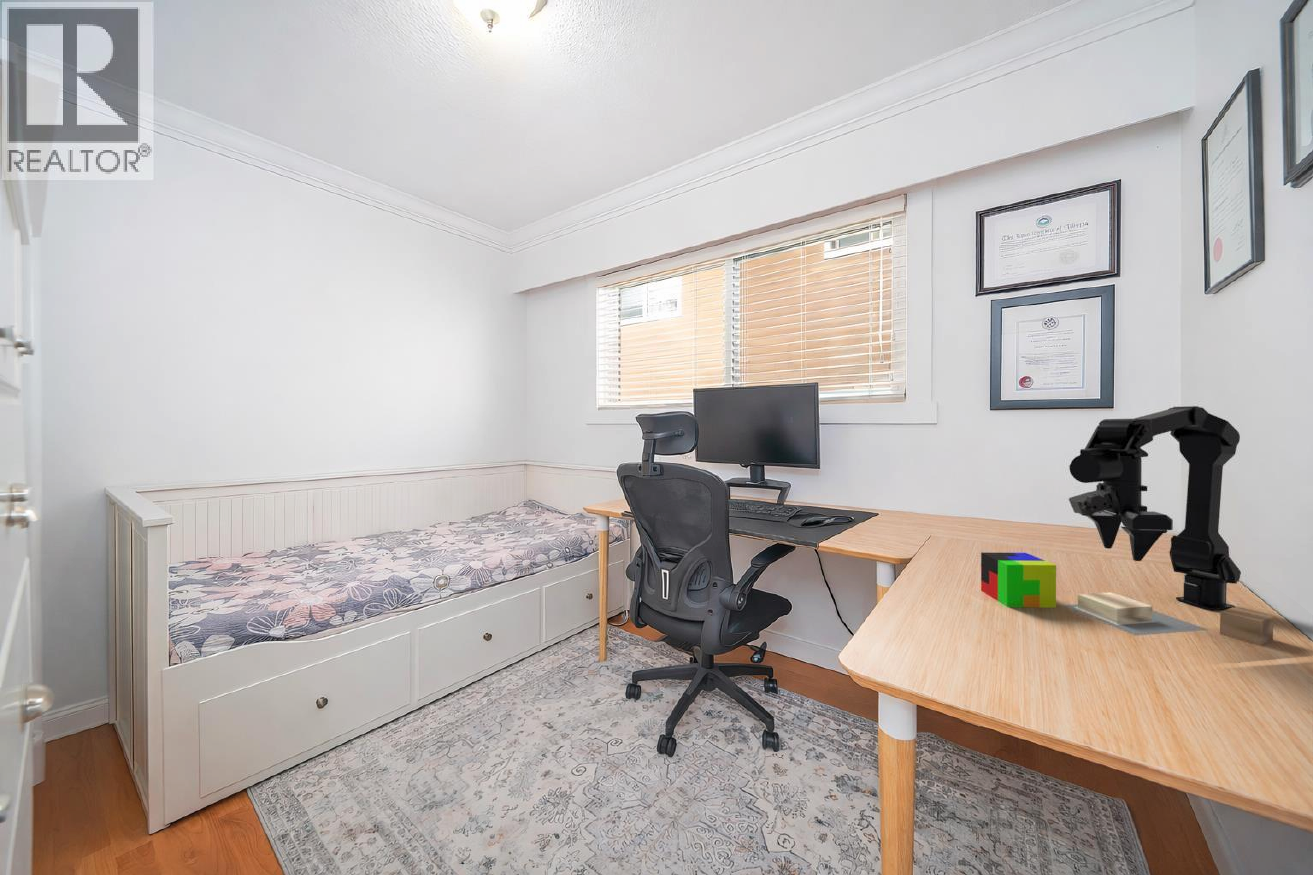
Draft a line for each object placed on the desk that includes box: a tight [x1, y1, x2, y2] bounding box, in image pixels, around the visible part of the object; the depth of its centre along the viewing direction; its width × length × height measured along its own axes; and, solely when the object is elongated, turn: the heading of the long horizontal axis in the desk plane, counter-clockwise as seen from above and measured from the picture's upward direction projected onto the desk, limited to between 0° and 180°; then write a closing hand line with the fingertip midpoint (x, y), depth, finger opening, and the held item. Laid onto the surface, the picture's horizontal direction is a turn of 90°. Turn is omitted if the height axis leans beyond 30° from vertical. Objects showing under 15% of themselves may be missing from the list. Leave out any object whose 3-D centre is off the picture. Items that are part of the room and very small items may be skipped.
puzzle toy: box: [980, 552, 1057, 608], centre depth 111 cm, size 10×10×10 cm
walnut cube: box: [1219, 607, 1274, 646], centre depth 90 cm, size 5×5×5 cm
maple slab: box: [1077, 591, 1153, 623], centre depth 101 cm, size 8×8×3 cm
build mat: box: [1060, 603, 1209, 636], centre depth 100 cm, size 16×15×1 cm
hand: (1121, 554), depth 101 cm, fingers open, 9 cm apart
